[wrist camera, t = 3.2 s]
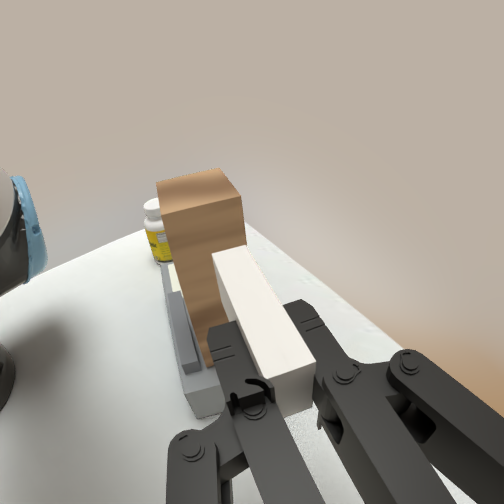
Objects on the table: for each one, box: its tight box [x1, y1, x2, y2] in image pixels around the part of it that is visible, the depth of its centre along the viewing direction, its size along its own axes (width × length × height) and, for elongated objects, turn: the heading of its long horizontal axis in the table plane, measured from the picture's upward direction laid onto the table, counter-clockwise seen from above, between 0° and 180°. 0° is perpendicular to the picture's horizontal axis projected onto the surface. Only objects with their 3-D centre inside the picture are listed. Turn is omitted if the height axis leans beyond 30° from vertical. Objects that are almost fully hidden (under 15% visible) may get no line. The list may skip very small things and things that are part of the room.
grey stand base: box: [160, 262, 225, 419], centre depth 35 cm, size 20×10×6 cm, turn 18°
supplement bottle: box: [144, 198, 173, 265], centre depth 49 cm, size 5×5×10 cm
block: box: [156, 168, 247, 367], centre depth 26 cm, size 6×5×15 cm
